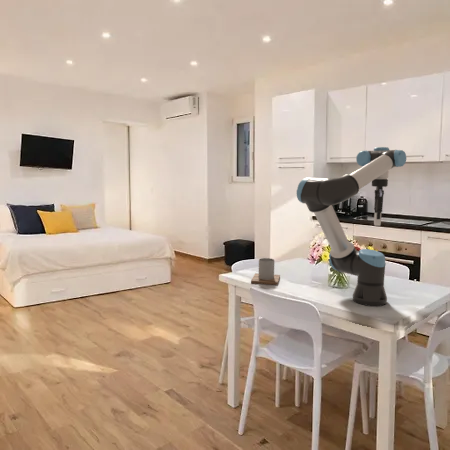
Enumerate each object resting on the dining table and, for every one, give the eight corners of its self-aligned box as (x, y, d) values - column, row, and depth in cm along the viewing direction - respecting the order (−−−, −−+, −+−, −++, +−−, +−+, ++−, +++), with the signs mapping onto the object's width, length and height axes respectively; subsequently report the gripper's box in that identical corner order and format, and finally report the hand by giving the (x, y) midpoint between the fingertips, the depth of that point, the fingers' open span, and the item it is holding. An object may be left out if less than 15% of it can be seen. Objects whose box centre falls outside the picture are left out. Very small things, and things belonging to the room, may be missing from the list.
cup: (272, 280, 227) (273, 261, 226) (257, 279, 229) (257, 260, 228) (274, 276, 235) (275, 258, 234) (259, 275, 237) (260, 257, 236)
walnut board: (277, 285, 224) (277, 282, 223) (251, 283, 226) (251, 280, 226) (280, 277, 239) (280, 274, 239) (255, 275, 242) (255, 273, 242)
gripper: (370, 178, 222) (367, 222, 225) (374, 178, 207) (371, 226, 210) (385, 178, 221) (382, 223, 224) (390, 179, 205) (387, 227, 209)
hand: (377, 225), depth 217 cm, fingers open, 3 cm apart
